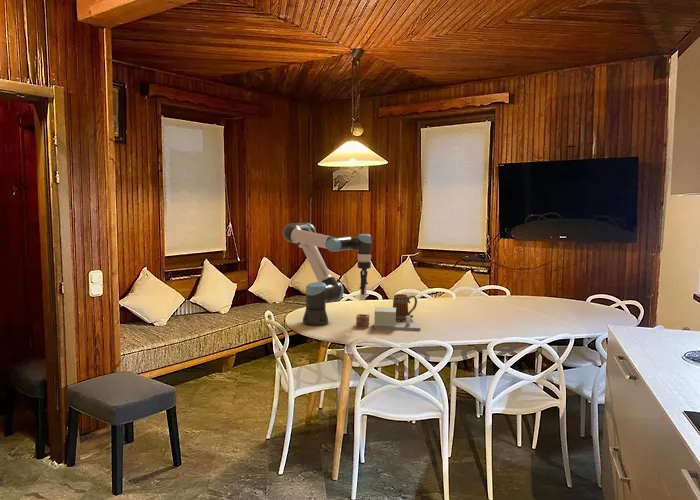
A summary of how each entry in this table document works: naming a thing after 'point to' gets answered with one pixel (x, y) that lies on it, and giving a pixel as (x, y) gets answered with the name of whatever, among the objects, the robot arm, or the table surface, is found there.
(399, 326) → the housing base
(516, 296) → the table surface
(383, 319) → the cover
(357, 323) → the brown wooden cup
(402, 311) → the mug
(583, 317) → the table surface
